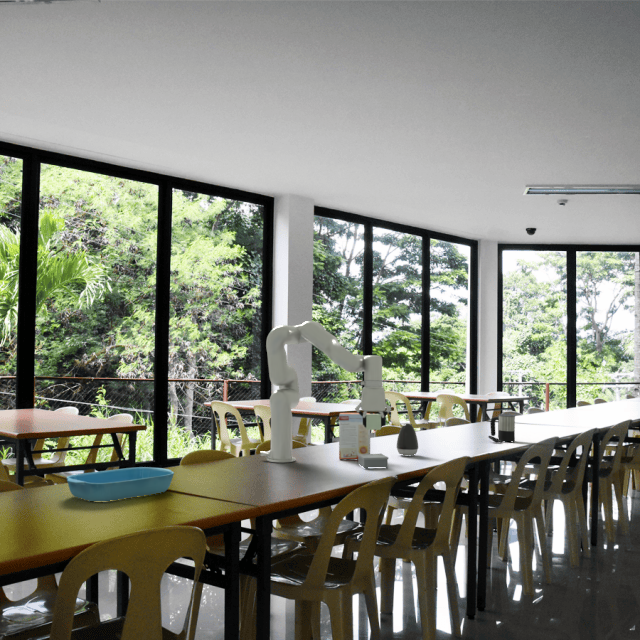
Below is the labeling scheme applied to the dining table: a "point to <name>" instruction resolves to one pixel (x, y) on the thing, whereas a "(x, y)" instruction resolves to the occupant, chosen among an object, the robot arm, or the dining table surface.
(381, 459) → the grey storage box
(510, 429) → the milk frother
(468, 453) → the dining table surface
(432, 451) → the dining table surface
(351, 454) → the cracker box
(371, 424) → the green cube
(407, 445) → the dark grey rounded piece
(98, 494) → the casserole dish
